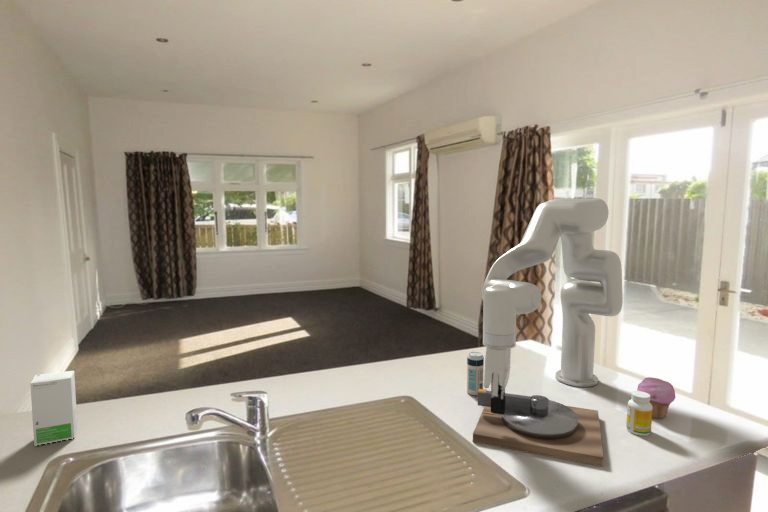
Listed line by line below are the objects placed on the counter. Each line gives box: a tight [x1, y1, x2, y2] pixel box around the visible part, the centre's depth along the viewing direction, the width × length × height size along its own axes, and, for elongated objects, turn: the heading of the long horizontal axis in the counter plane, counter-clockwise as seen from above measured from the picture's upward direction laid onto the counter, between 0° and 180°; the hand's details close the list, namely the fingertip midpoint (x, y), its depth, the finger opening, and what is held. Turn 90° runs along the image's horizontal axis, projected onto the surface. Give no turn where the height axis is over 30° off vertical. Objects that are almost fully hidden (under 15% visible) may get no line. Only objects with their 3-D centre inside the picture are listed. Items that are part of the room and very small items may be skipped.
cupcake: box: [636, 376, 676, 419], centre depth 121 cm, size 9×9×10 cm
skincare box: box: [30, 370, 78, 447], centre depth 112 cm, size 8×7×16 cm
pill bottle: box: [466, 351, 485, 397], centre depth 136 cm, size 5×5×12 cm
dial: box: [477, 388, 578, 439], centre depth 116 cm, size 24×18×6 cm
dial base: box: [472, 405, 604, 467], centre depth 115 cm, size 24×28×2 cm
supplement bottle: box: [625, 390, 653, 437], centre depth 113 cm, size 5×5×10 cm
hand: (497, 412), depth 111 cm, fingers closed
